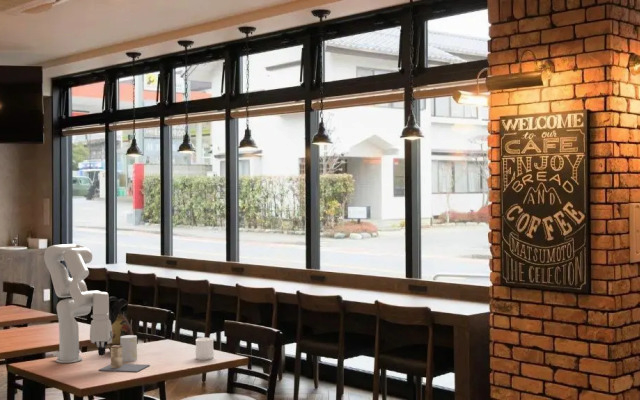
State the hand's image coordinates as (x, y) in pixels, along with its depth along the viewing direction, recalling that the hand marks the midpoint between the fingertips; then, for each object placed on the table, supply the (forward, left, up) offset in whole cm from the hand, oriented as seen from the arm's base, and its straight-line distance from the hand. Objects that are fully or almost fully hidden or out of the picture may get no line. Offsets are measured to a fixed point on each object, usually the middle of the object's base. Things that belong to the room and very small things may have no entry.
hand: (101, 354), depth 384 cm
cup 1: (+5, +19, -7) cm, 21 cm away
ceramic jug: (-11, +38, -7) cm, 40 cm away
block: (+8, 0, -6) cm, 10 cm away
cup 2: (+42, +29, -7) cm, 51 cm away
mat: (+12, 0, -6) cm, 13 cm away
